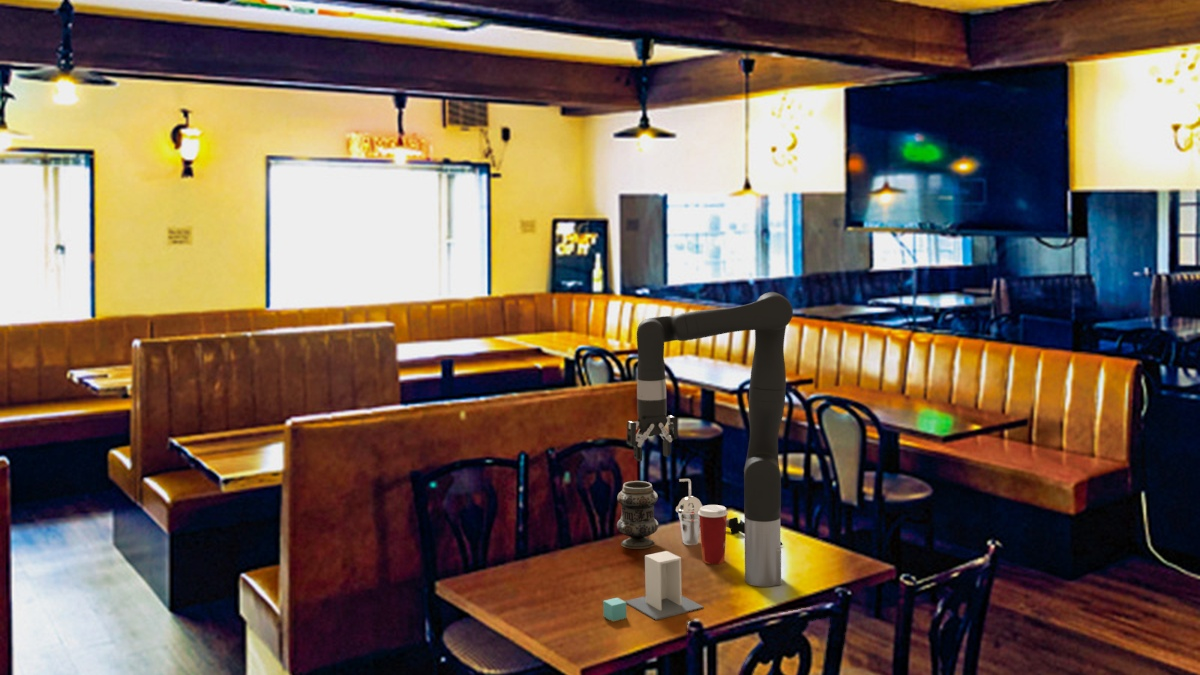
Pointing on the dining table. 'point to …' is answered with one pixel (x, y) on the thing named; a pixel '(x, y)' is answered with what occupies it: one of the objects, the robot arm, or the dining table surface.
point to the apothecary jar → (637, 514)
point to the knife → (737, 526)
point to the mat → (663, 607)
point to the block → (614, 609)
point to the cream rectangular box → (662, 578)
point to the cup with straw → (689, 517)
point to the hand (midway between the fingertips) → (652, 458)
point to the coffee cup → (713, 533)
